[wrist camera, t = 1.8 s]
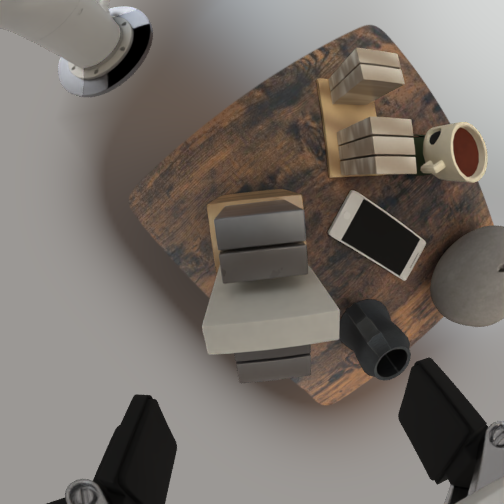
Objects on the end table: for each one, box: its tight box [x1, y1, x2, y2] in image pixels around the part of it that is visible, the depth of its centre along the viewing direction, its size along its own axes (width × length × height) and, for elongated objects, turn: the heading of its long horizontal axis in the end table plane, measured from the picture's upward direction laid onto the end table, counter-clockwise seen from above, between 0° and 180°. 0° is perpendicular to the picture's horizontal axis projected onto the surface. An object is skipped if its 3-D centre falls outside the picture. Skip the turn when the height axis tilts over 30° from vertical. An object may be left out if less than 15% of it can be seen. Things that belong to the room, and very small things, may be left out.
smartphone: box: [328, 190, 426, 280], centre depth 38 cm, size 7×16×1 cm, turn 62°
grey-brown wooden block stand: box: [316, 48, 417, 178], centre depth 29 cm, size 14×8×12 cm, turn 6°
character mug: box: [402, 122, 487, 182], centre depth 29 cm, size 11×7×13 cm, turn 122°
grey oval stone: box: [430, 226, 504, 327], centre depth 30 cm, size 18×7×19 cm, turn 132°
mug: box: [339, 299, 411, 380], centre depth 36 cm, size 12×9×11 cm
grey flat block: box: [202, 265, 340, 355], centre depth 19 cm, size 2×7×11 cm, turn 96°
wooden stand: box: [207, 189, 311, 383], centre depth 27 cm, size 12×8×22 cm, turn 6°
